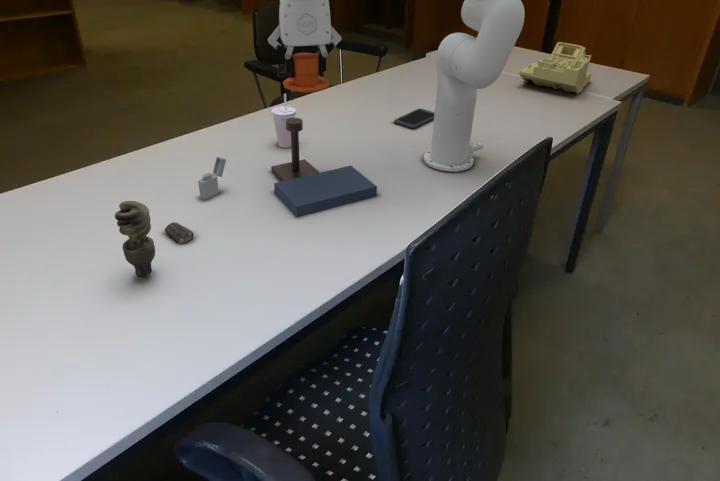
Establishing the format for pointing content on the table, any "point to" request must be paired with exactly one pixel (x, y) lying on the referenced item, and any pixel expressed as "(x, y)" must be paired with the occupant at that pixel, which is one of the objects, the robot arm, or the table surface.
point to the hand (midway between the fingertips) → (306, 74)
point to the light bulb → (136, 236)
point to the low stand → (324, 190)
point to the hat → (306, 74)
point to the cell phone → (415, 118)
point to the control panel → (561, 69)
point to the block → (179, 232)
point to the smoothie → (283, 123)
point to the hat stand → (294, 156)
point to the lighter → (211, 180)
